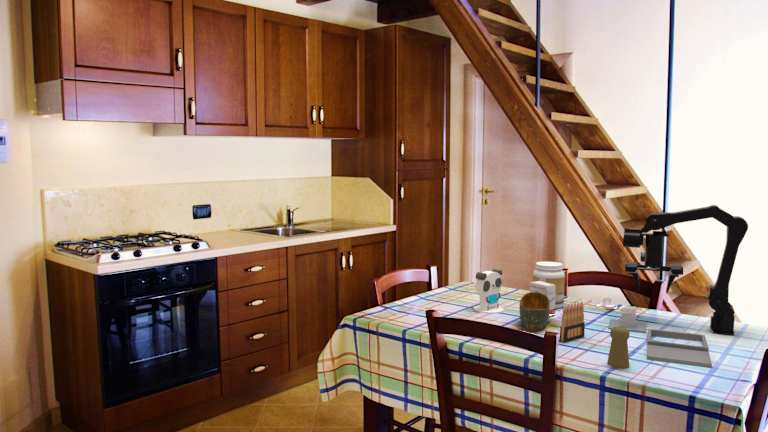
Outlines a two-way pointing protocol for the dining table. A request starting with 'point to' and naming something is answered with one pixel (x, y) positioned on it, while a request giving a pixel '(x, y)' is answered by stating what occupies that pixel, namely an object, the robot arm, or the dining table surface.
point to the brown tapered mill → (619, 348)
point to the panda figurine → (489, 291)
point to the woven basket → (534, 311)
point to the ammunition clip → (572, 323)
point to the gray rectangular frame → (678, 349)
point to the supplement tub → (552, 278)
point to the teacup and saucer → (607, 303)
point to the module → (628, 318)
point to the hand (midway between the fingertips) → (652, 292)
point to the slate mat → (638, 328)
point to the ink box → (545, 292)
